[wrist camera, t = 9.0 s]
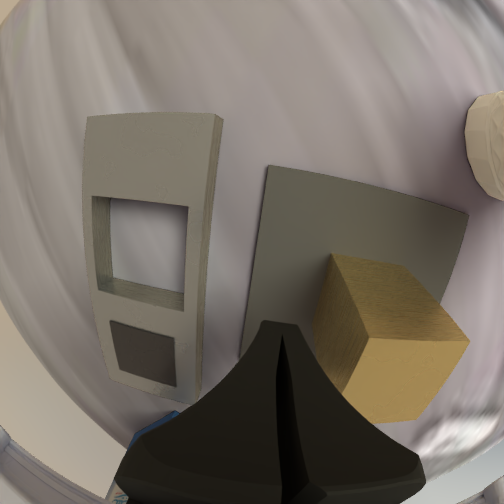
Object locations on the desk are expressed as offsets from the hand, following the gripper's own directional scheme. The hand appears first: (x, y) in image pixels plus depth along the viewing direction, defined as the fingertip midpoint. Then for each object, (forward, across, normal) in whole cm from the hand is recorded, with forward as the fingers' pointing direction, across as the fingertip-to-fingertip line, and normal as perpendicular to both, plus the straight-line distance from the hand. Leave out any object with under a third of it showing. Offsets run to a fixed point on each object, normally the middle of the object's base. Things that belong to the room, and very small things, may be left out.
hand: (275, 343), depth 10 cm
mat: (+5, -5, 0) cm, 7 cm away
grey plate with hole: (+5, +7, +1) cm, 9 cm away
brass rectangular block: (+5, -5, 0) cm, 7 cm away
